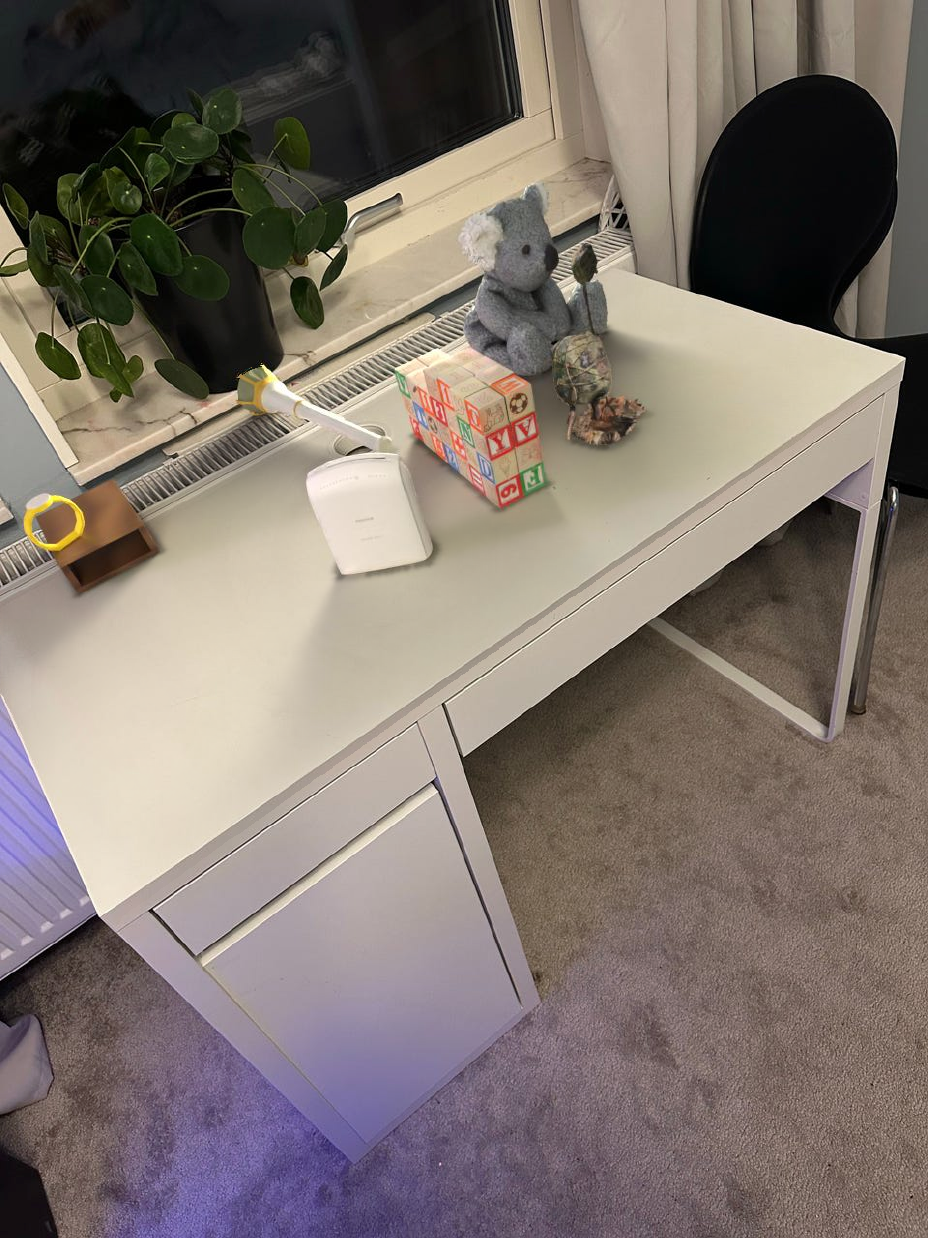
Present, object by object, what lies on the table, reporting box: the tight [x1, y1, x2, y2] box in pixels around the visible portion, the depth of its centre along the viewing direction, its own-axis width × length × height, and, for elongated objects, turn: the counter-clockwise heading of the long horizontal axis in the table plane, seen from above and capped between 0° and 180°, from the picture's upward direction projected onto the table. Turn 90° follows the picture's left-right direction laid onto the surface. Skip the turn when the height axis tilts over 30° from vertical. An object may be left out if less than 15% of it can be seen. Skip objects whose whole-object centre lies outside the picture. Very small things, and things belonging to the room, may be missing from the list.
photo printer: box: [305, 452, 434, 575], centre depth 84 cm, size 10×4×12 cm, turn 91°
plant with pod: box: [547, 242, 647, 447], centre depth 90 cm, size 8×11×20 cm
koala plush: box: [456, 180, 609, 377], centre depth 110 cm, size 17×18×20 cm
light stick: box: [234, 364, 393, 453], centre depth 110 cm, size 7×6×30 cm
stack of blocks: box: [393, 346, 547, 509], centre depth 94 cm, size 21×6×12 cm, turn 30°
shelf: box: [35, 478, 160, 595], centre depth 100 cm, size 10×13×4 cm
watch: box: [23, 492, 85, 552], centre depth 93 cm, size 6×3×6 cm, turn 136°
